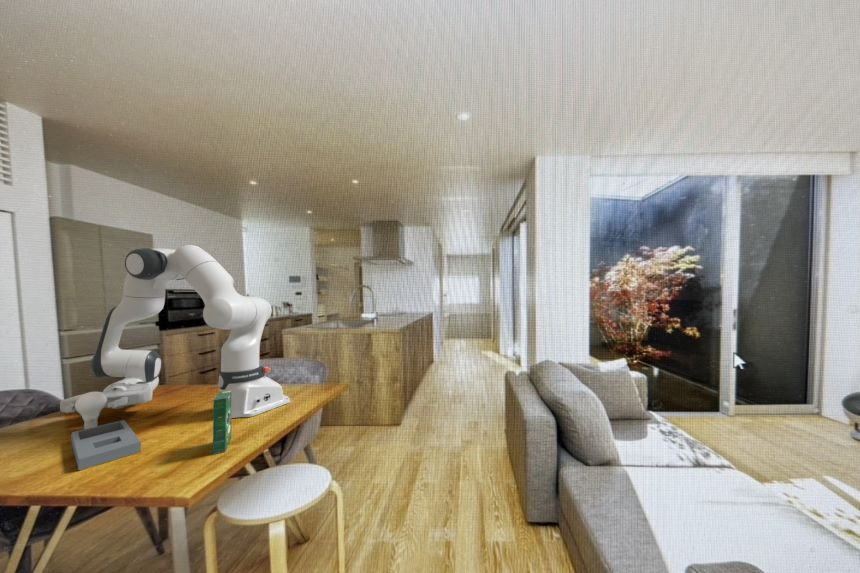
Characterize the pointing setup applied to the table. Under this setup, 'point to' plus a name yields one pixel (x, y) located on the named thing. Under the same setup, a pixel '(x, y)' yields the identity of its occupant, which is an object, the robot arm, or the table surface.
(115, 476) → the table surface
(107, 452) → the hole board
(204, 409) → the table surface
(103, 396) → the lightbulb
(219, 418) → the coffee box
